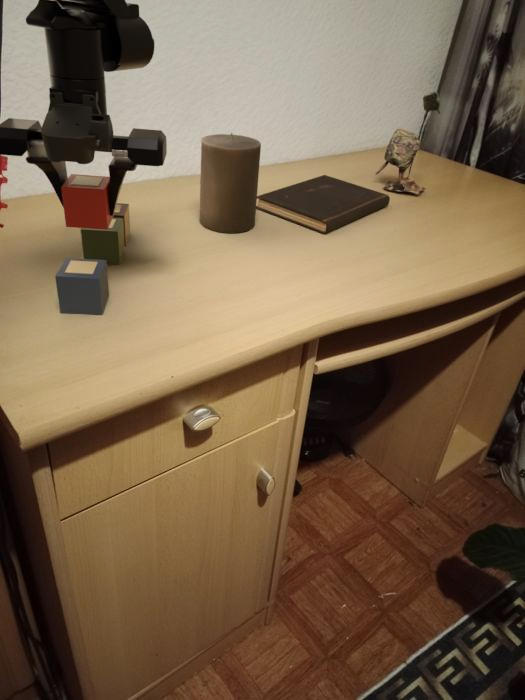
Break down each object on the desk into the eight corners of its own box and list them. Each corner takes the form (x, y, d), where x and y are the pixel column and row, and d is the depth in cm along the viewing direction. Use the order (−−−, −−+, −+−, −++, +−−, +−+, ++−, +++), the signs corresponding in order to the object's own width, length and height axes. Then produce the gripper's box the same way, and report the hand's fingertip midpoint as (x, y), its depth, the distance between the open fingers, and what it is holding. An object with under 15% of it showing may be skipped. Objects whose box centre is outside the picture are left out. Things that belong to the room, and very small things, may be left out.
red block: (65, 227, 66) (60, 185, 63) (74, 212, 70) (70, 172, 67) (107, 229, 67) (104, 188, 64) (114, 215, 71) (111, 175, 68)
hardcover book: (254, 208, 101) (256, 196, 100) (322, 185, 117) (324, 174, 116) (325, 235, 94) (327, 222, 92) (388, 206, 109) (390, 195, 108)
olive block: (84, 262, 77) (80, 228, 74) (90, 247, 81) (87, 215, 78) (119, 264, 77) (117, 230, 75) (124, 249, 82) (123, 217, 79)
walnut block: (92, 245, 82) (89, 212, 79) (98, 232, 86) (95, 200, 83) (125, 247, 82) (124, 214, 79) (130, 234, 86) (128, 203, 84)
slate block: (59, 313, 65) (54, 275, 63) (69, 293, 70) (65, 256, 67) (102, 315, 66) (99, 277, 63) (109, 295, 70) (106, 259, 67)
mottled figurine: (384, 178, 125) (405, 84, 114) (429, 192, 120) (456, 94, 109) (367, 185, 120) (387, 86, 109) (413, 199, 114) (440, 97, 103)
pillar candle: (254, 235, 91) (263, 142, 82) (196, 231, 90) (198, 137, 82) (254, 214, 99) (262, 128, 90) (200, 210, 98) (203, 122, 90)
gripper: (-42, 79, 51) (-11, 234, 60) (157, 96, 53) (159, 244, 62) (-3, 63, 61) (20, 199, 69) (166, 78, 63) (167, 209, 71)
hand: (90, 213), depth 68 cm, fingers closed on red block, 5 cm apart
